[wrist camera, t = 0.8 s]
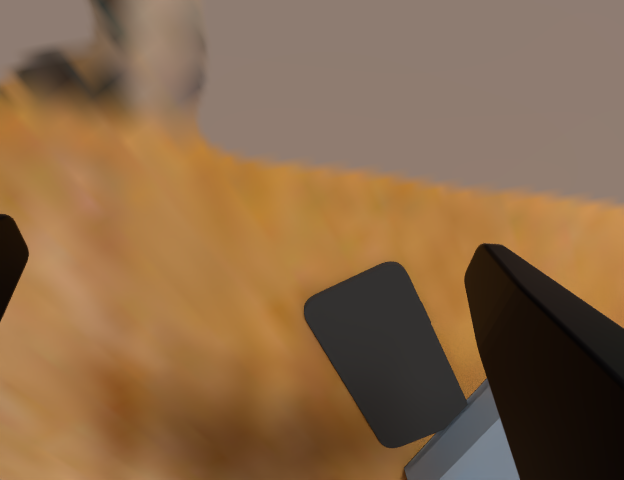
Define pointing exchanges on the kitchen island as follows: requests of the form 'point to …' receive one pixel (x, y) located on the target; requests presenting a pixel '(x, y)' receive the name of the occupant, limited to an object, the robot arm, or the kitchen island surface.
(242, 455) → the kitchen island surface
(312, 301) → the phone
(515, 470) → the tray
